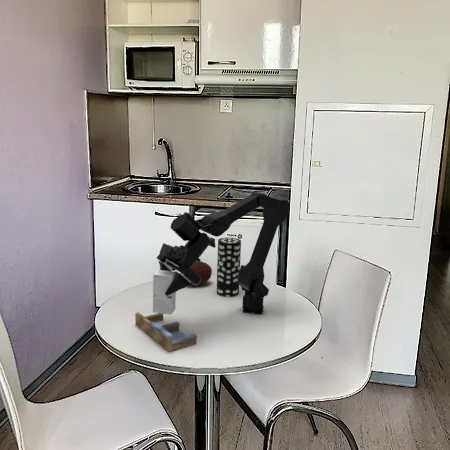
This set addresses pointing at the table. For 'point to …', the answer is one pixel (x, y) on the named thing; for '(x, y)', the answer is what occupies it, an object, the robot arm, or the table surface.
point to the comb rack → (164, 332)
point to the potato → (202, 271)
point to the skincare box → (163, 292)
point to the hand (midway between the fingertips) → (160, 290)
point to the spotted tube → (228, 266)
